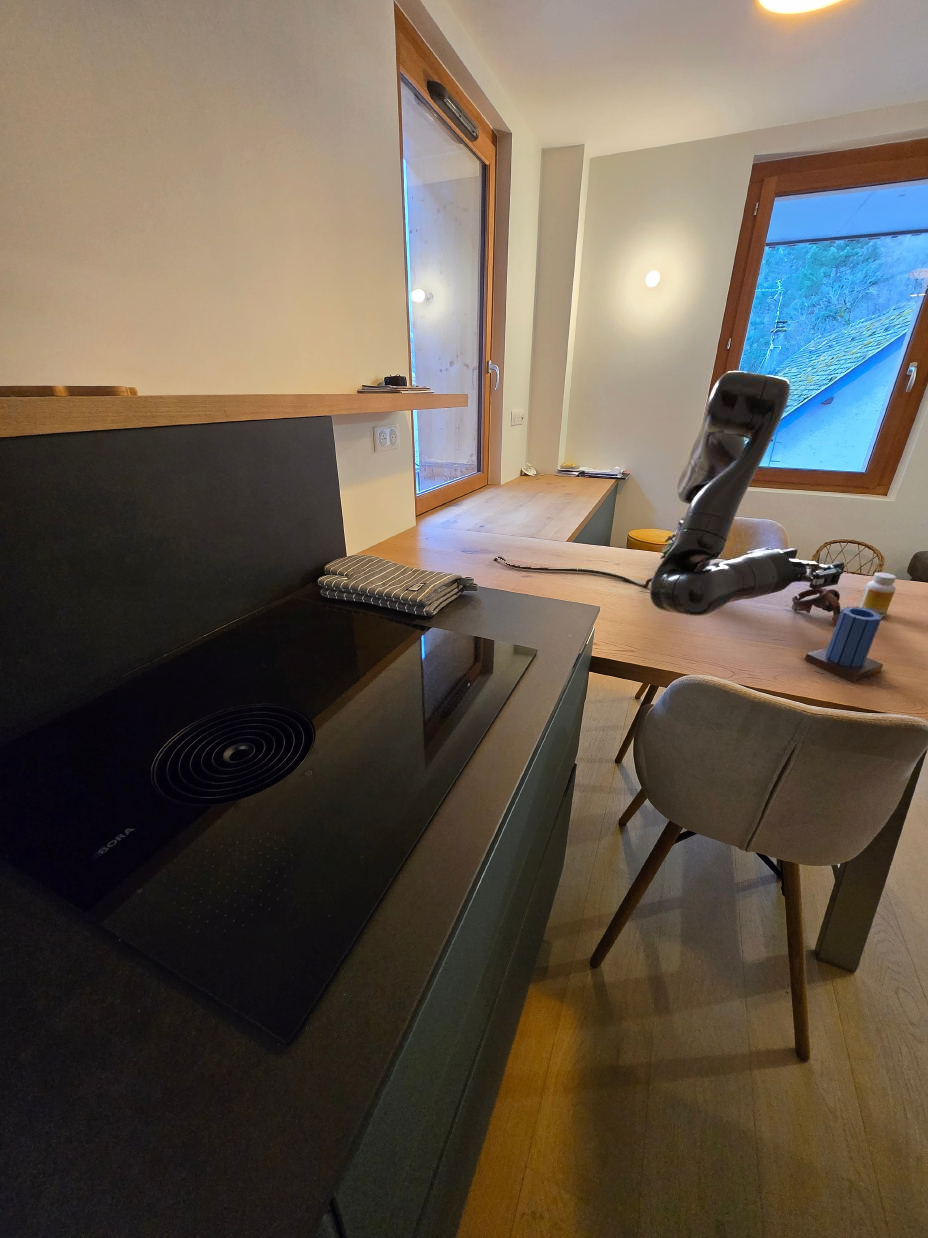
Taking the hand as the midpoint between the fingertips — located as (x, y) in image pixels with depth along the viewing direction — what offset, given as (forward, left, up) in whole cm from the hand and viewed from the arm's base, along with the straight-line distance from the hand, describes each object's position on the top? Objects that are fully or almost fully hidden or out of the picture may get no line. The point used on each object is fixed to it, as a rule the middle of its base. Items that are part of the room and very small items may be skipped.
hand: (816, 560), depth 90 cm
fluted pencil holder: (+10, +1, -20) cm, 22 cm away
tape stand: (+10, +1, -21) cm, 24 cm away
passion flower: (-17, +56, -21) cm, 62 cm away
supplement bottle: (+25, +31, -21) cm, 45 cm away
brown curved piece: (+12, +25, -22) cm, 35 cm away
